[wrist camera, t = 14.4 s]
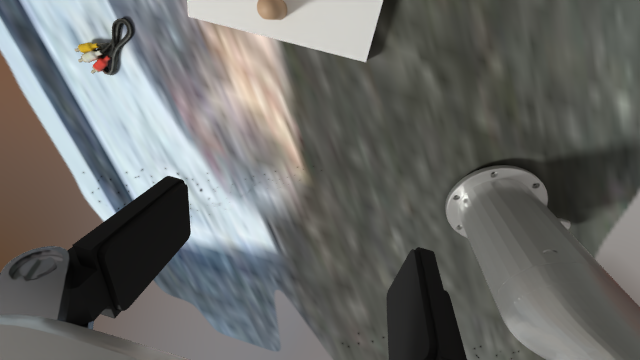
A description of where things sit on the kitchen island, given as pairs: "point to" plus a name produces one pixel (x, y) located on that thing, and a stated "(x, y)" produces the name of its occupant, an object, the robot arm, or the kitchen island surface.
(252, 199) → the kitchen island surface
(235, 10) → the plate
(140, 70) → the kitchen island surface
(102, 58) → the composite cable
